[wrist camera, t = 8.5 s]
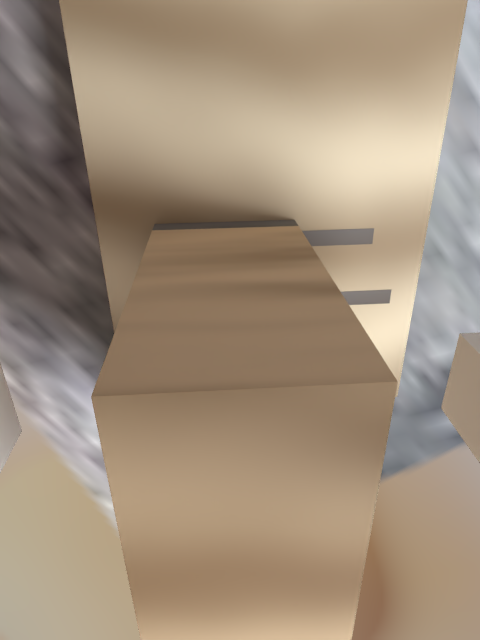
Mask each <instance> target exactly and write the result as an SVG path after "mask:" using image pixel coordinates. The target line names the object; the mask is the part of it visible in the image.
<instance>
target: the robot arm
mask: <svg viewBox="0 0 480 640" xmlns="http://www.w3.org/2000/svg"><path fill="white" fill-rule="evenodd" d="M441 408H442V410H443V411H444V413H445V414H446V416H447V417H448V418H449V420H450V421H451V423H452V424H453V426H454V427H455V428H456V430H457V431H458V433H459V434H460V436H461V437H462V439H463V440H464V441H465V443H466V444H467V446H468V447H469V449H470V450H471V451H472V453H473V454H474V456H475V457H476V459H477V460H478V461H479V463H480V333H460V335H459V339H458V343H457V347H456V351H455V355H454V359H453V363H452V367H451V371H450V375H449V379H448V383H447V387H446V391H445V395H444V399H443V403H442V407H441ZM21 432H22V429H21V426H20V424H19V420H18V417H17V414H16V411H15V408H14V405H13V401H12V398H11V395H10V392H9V389H8V386H7V383H6V380H5V376H4V373H3V370H2V367H1V364H0V472H1V470H2V468H3V467H4V465H5V463H6V461H7V459H8V457H9V455H10V453H11V451H12V449H13V447H14V445H15V443H16V441H17V439H18V437H19V436H20V434H21Z"/></svg>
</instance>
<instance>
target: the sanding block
mask: <svg viewBox="0 0 480 640" xmlns="http://www.w3.org/2000/svg"><path fill="white" fill-rule="evenodd" d="M397 383H398V381H397V380H396V378H395V376H394V375H393V373H392V372H391V370H390V369H389V367H388V365H387V364H386V362H385V361H384V359H383V358H382V356H381V355H380V353H379V351H378V350H377V348H376V347H375V345H374V344H373V342H372V340H371V339H370V337H369V336H368V334H367V333H366V331H365V329H364V328H363V326H362V325H361V323H360V322H359V320H358V318H357V317H356V315H355V314H354V312H353V311H352V309H351V307H350V306H349V304H348V303H347V301H346V300H345V298H344V296H343V295H342V293H341V292H340V290H339V289H338V287H337V285H336V284H335V282H334V281H333V279H332V278H331V276H330V274H329V273H328V271H327V270H326V268H325V267H324V265H323V263H322V262H321V260H320V259H319V257H318V256H317V254H316V252H315V251H314V249H313V248H312V246H311V245H310V243H309V241H308V240H307V238H306V237H305V235H304V234H303V232H302V230H301V229H300V227H299V226H298V224H297V223H296V221H295V220H267V221H234V222H201V223H167V224H154V227H153V229H152V232H151V235H150V238H149V240H148V243H147V246H146V249H145V251H144V254H143V257H142V259H141V262H140V265H139V268H138V270H137V273H136V276H135V279H134V281H133V284H132V287H131V290H130V292H129V295H128V298H127V300H126V303H125V306H124V309H123V311H122V314H121V317H120V320H119V322H118V325H117V328H116V330H115V333H114V336H113V339H112V341H111V344H110V347H109V350H108V352H107V355H106V358H105V360H104V363H103V366H102V369H101V371H100V374H99V377H98V380H97V382H96V385H95V388H94V390H93V393H92V396H91V398H92V403H93V408H94V413H95V418H96V423H97V428H98V432H99V437H100V442H101V447H102V452H103V457H104V462H105V467H106V472H107V477H108V482H109V486H110V491H111V496H112V501H113V506H114V511H115V516H116V521H117V526H118V531H119V536H120V540H121V545H122V550H123V555H124V559H125V565H126V570H127V574H128V579H129V584H130V590H131V594H132V599H133V604H134V609H135V614H136V619H137V624H138V629H139V633H140V639H141V640H351V638H352V633H353V627H354V622H355V616H356V611H357V605H358V600H359V594H360V588H361V583H362V577H363V571H364V566H365V560H366V555H367V550H368V544H369V538H370V533H371V527H372V522H373V516H374V511H375V505H376V500H377V494H378V489H379V483H380V477H381V472H382V466H383V461H384V455H385V450H386V444H387V439H388V433H389V428H390V422H391V416H392V411H393V405H394V400H395V394H396V389H397Z"/></svg>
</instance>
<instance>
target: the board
mask: <svg viewBox="0 0 480 640" xmlns="http://www.w3.org/2000/svg"><path fill="white" fill-rule="evenodd" d="M467 1H468V0H59V4H60V10H61V16H62V22H63V28H64V34H65V40H66V46H67V52H68V58H69V64H70V70H71V76H72V82H73V88H74V94H75V100H76V106H77V112H78V118H79V124H80V130H81V136H82V142H83V148H84V154H85V160H86V166H87V172H88V178H89V184H90V190H91V196H92V202H93V208H94V214H95V221H96V227H97V233H98V239H99V245H100V251H101V257H102V263H103V269H104V275H105V281H106V287H107V293H108V299H109V305H110V311H111V317H112V323H113V329H114V333H115V330H116V328H117V325H118V322H119V320H120V317H121V314H122V311H123V309H124V306H125V303H126V300H127V298H128V295H129V292H130V290H131V287H132V284H133V281H134V279H135V276H136V273H137V270H138V268H139V265H140V262H141V259H142V257H143V254H144V251H145V249H146V246H147V243H148V240H149V238H150V235H151V232H152V229H153V227H154V224H167V223H201V222H234V221H267V220H295V221H296V223H297V224H298V226H299V227H300V229H301V230H302V232H303V234H304V235H305V237H306V238H307V240H308V241H309V243H310V245H311V246H312V248H313V249H314V251H315V252H316V254H317V256H318V257H319V259H320V260H321V262H322V263H323V265H324V267H325V268H326V270H327V271H328V273H329V274H330V276H331V278H332V279H333V281H334V282H335V284H336V285H337V287H338V289H339V290H340V292H341V293H342V295H343V296H344V298H345V300H346V301H347V303H348V304H349V306H350V307H351V309H352V311H353V312H354V314H355V315H356V317H357V318H358V320H359V322H360V323H361V325H362V326H363V328H364V329H365V331H366V333H367V334H368V336H369V337H370V339H371V340H372V342H373V344H374V345H375V347H376V348H377V350H378V351H379V353H380V355H381V356H382V358H383V359H384V361H385V362H386V364H387V365H388V367H389V369H390V370H391V372H392V373H393V375H394V376H395V378H396V380H397V381H398V383H397V389H396V394H395V397H397V394H398V389H399V383H400V378H401V372H402V366H403V361H404V355H405V349H406V344H407V338H408V333H409V327H410V321H411V316H412V310H413V305H414V299H415V293H416V288H417V282H418V276H419V271H420V265H421V260H422V254H423V248H424V243H425V237H426V231H427V226H428V220H429V215H430V209H431V203H432V198H433V192H434V187H435V181H436V175H437V170H438V164H439V158H440V153H441V147H442V142H443V136H444V130H445V125H446V119H447V113H448V108H449V102H450V97H451V91H452V85H453V80H454V74H455V69H456V63H457V57H458V52H459V46H460V40H461V35H462V29H463V24H464V18H465V12H466V7H467Z"/></svg>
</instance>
